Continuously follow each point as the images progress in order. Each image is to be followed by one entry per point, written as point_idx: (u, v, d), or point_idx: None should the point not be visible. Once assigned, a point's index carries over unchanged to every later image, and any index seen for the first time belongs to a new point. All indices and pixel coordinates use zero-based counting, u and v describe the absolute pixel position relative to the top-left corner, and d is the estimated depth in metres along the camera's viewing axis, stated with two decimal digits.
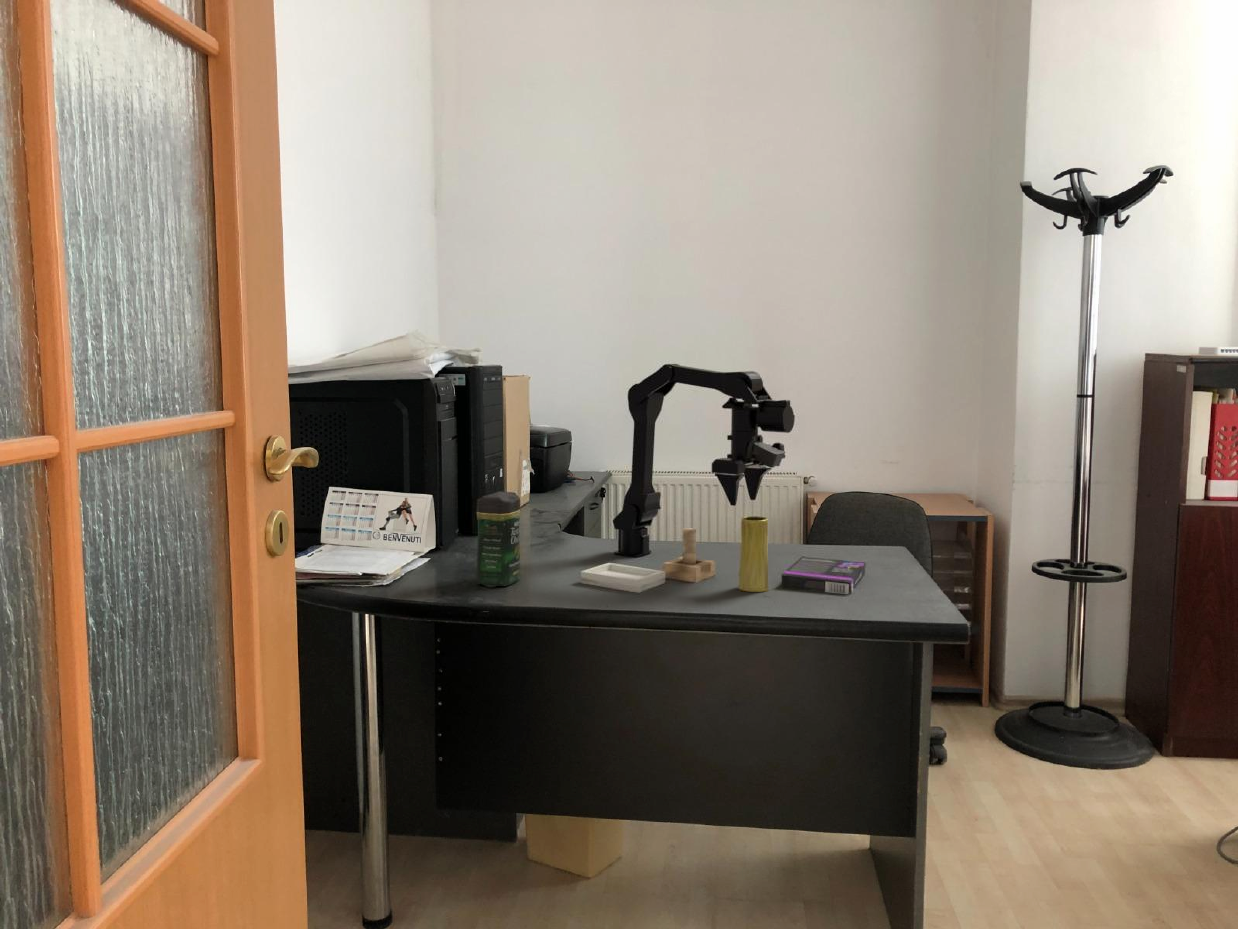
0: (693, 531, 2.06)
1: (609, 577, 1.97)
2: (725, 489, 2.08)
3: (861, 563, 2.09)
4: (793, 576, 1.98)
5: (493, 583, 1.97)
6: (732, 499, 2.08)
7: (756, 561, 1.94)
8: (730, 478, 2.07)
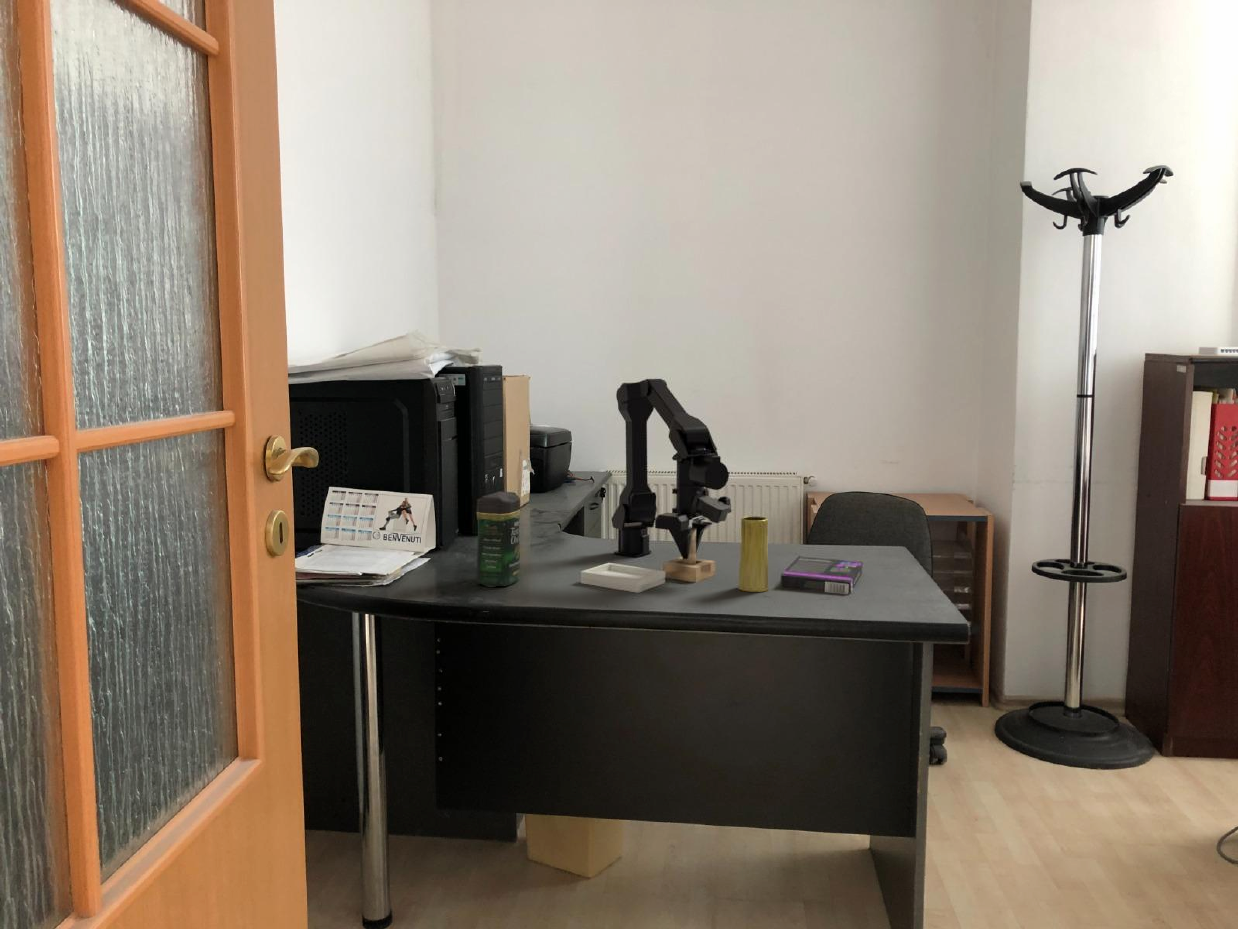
0: None
1: (609, 577, 1.97)
2: (677, 542, 2.06)
3: (858, 563, 2.10)
4: (792, 576, 1.97)
5: (493, 583, 1.97)
6: (684, 552, 2.06)
7: (756, 561, 1.94)
8: (682, 531, 2.05)
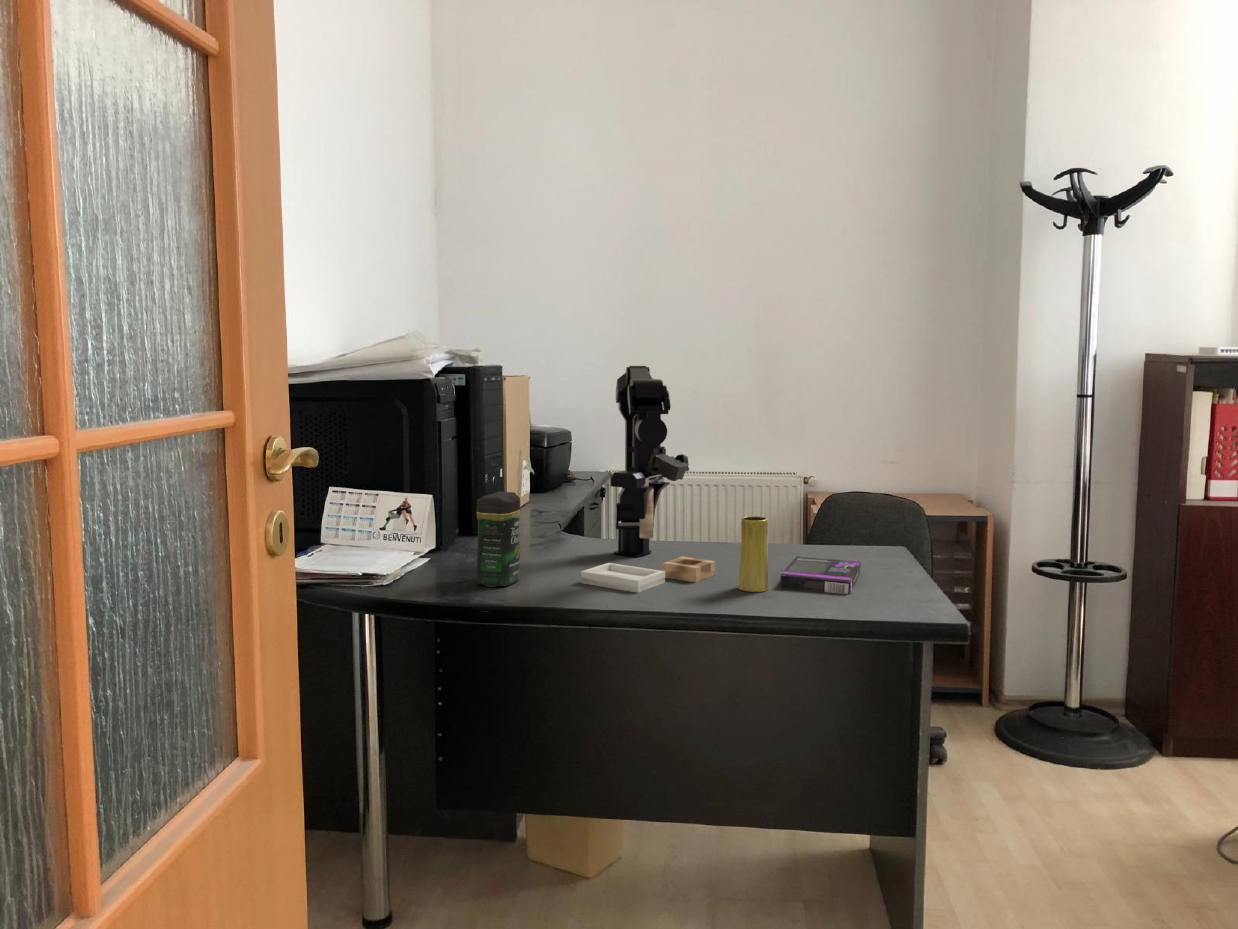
0: None
1: (609, 577, 1.97)
2: (633, 502, 2.00)
3: (856, 562, 2.10)
4: (792, 576, 1.97)
5: (493, 583, 1.97)
6: (641, 512, 2.00)
7: (756, 561, 1.94)
8: (638, 490, 1.99)
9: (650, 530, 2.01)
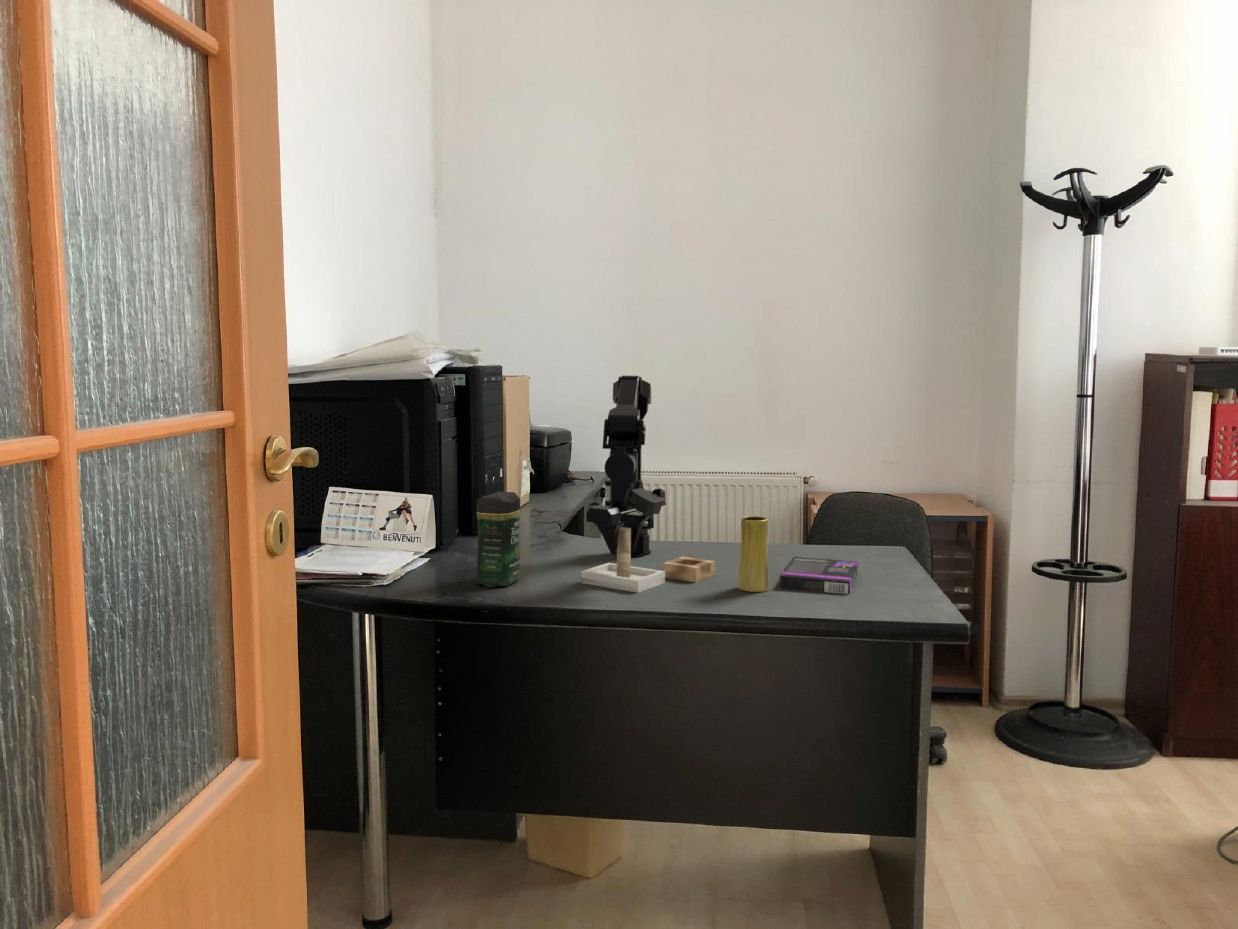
0: (627, 529, 2.00)
1: (609, 577, 1.97)
2: (605, 537, 1.98)
3: (854, 562, 2.10)
4: (792, 577, 1.97)
5: (493, 583, 1.97)
6: (612, 548, 1.98)
7: (756, 561, 1.94)
8: (609, 526, 1.97)
9: (627, 570, 2.00)
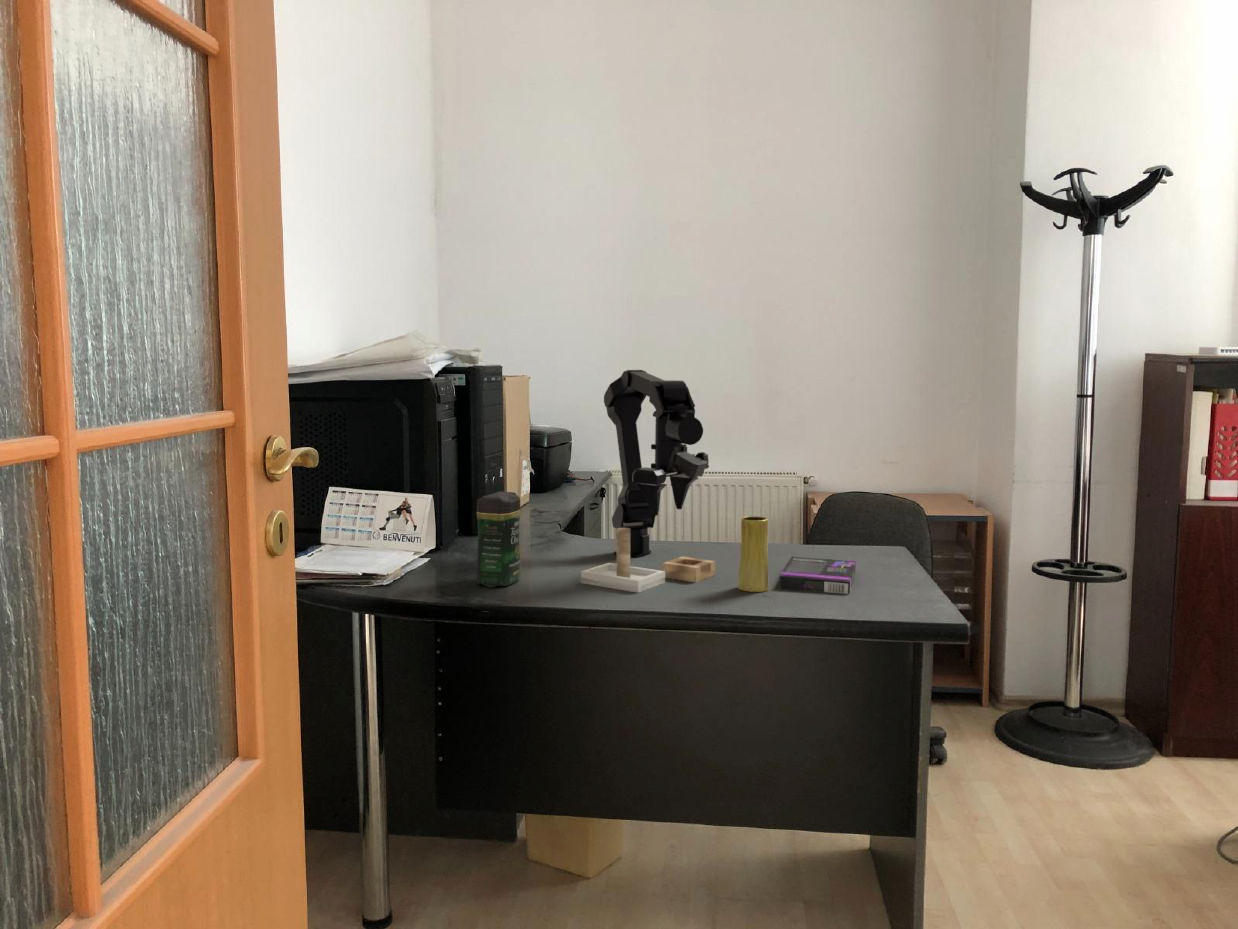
0: (627, 531, 1.99)
1: (609, 577, 1.97)
2: (647, 499, 2.08)
3: (852, 562, 2.10)
4: (791, 577, 1.97)
5: (493, 583, 1.97)
6: (654, 509, 2.08)
7: (756, 561, 1.94)
8: (652, 488, 2.07)
9: (627, 571, 2.00)
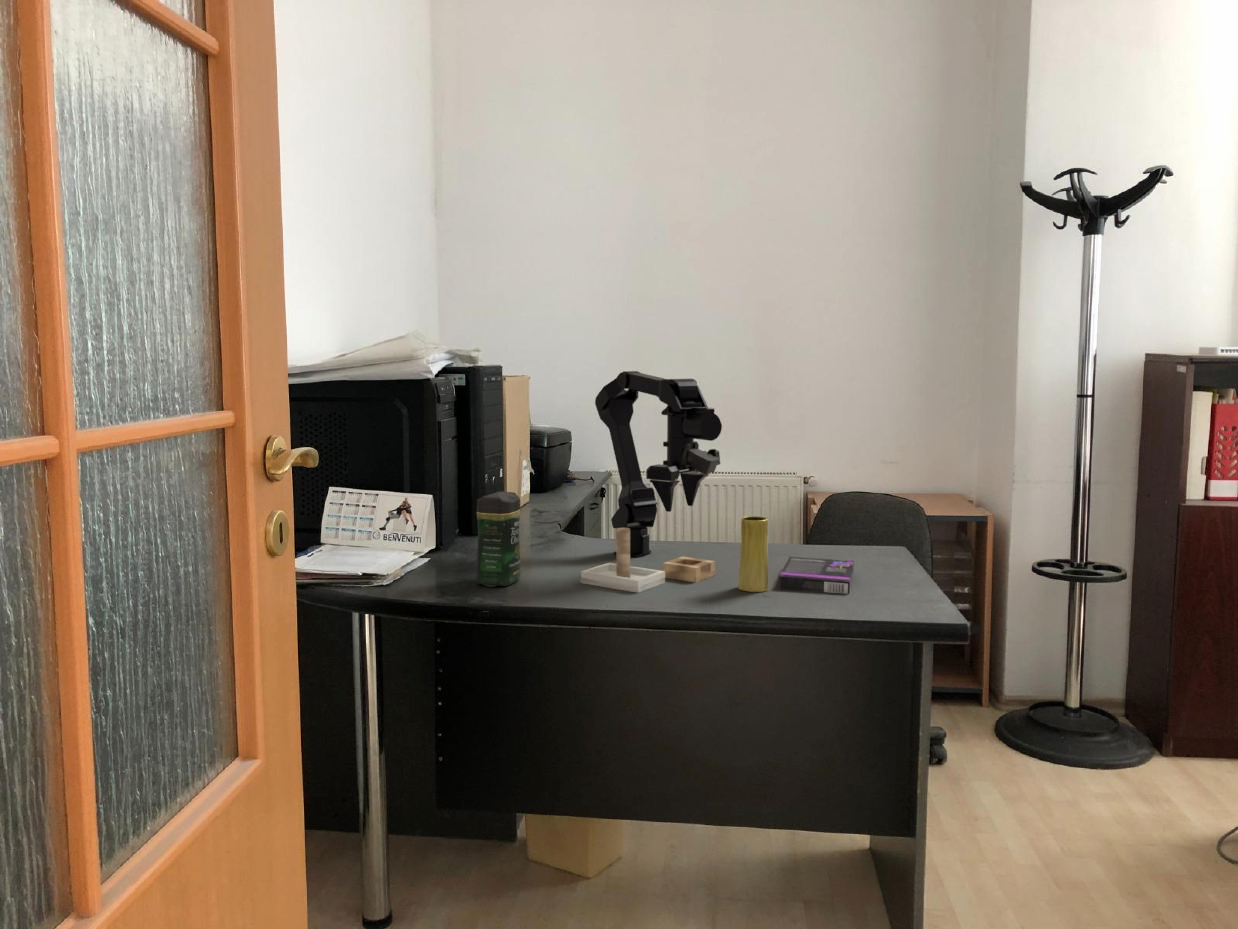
0: (627, 531, 1.99)
1: (609, 577, 1.97)
2: (660, 495, 2.10)
3: (850, 562, 2.10)
4: (791, 577, 1.97)
5: (493, 583, 1.97)
6: (667, 505, 2.10)
7: (756, 561, 1.94)
8: (665, 484, 2.09)
9: (627, 571, 2.00)
